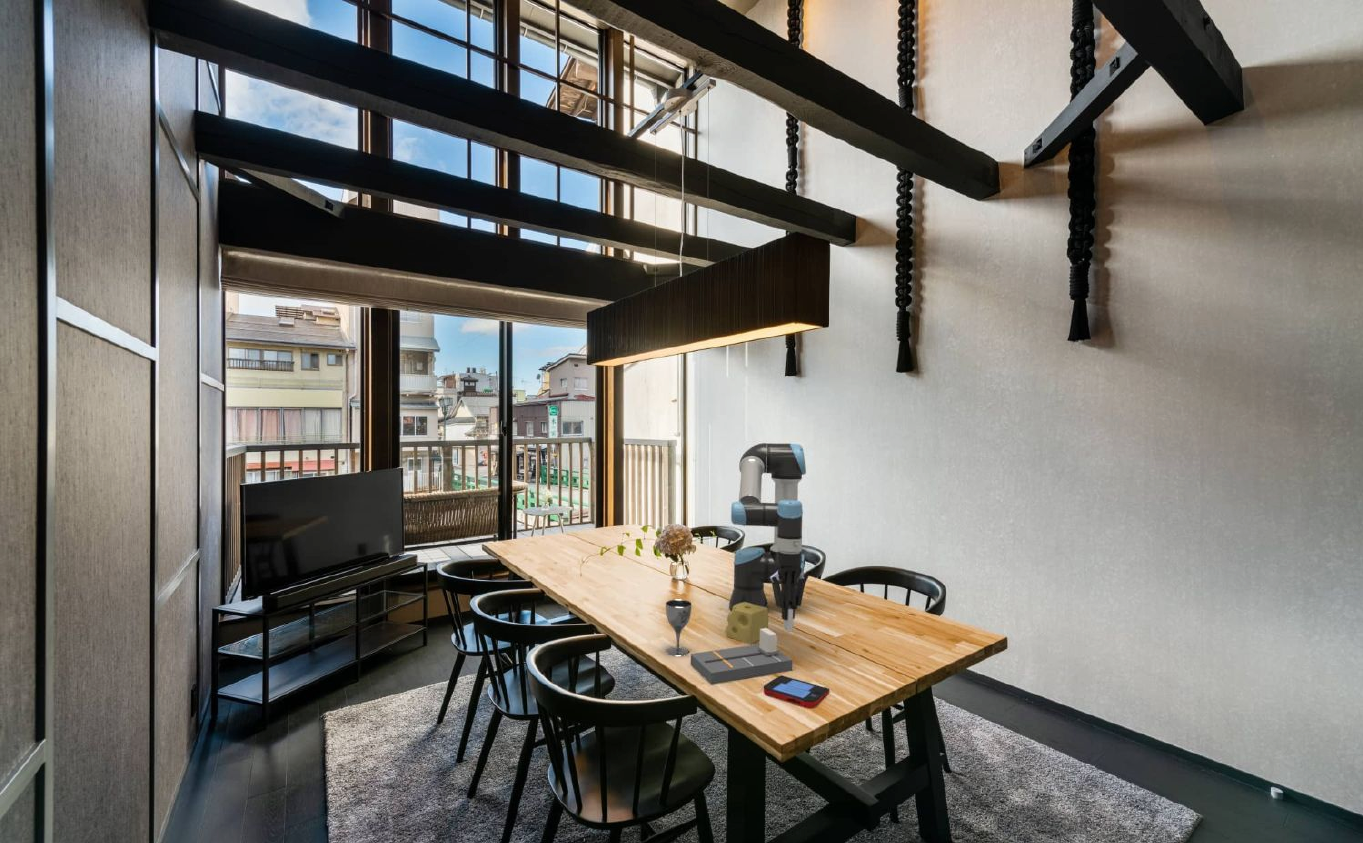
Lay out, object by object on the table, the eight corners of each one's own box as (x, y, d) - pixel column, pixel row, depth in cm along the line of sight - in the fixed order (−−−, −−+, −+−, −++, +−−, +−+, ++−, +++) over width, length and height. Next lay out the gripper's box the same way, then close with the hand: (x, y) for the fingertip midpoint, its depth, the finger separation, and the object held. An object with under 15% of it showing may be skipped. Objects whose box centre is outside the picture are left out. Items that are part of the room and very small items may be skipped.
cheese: (725, 637, 187) (725, 607, 187) (744, 629, 195) (745, 600, 195) (750, 645, 180) (751, 614, 180) (769, 637, 188) (770, 607, 188)
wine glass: (681, 658, 168) (682, 608, 168) (659, 652, 172) (660, 604, 173) (695, 650, 175) (696, 602, 175) (673, 644, 179) (674, 597, 179)
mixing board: (766, 652, 174) (767, 642, 174) (792, 670, 161) (792, 659, 161) (690, 664, 164) (690, 653, 164) (711, 684, 151) (711, 672, 151)
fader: (768, 647, 170) (768, 627, 170) (778, 654, 164) (779, 633, 165) (757, 649, 168) (757, 629, 168) (767, 656, 163) (767, 635, 163)
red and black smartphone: (830, 693, 149) (830, 684, 149) (812, 712, 138) (812, 703, 138) (780, 678, 157) (781, 670, 157) (760, 695, 146) (760, 686, 146)
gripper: (777, 555, 164) (776, 636, 163) (814, 552, 169) (813, 631, 168) (764, 550, 171) (763, 628, 170) (800, 548, 176) (799, 624, 175)
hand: (788, 630), depth 169 cm, fingers closed
